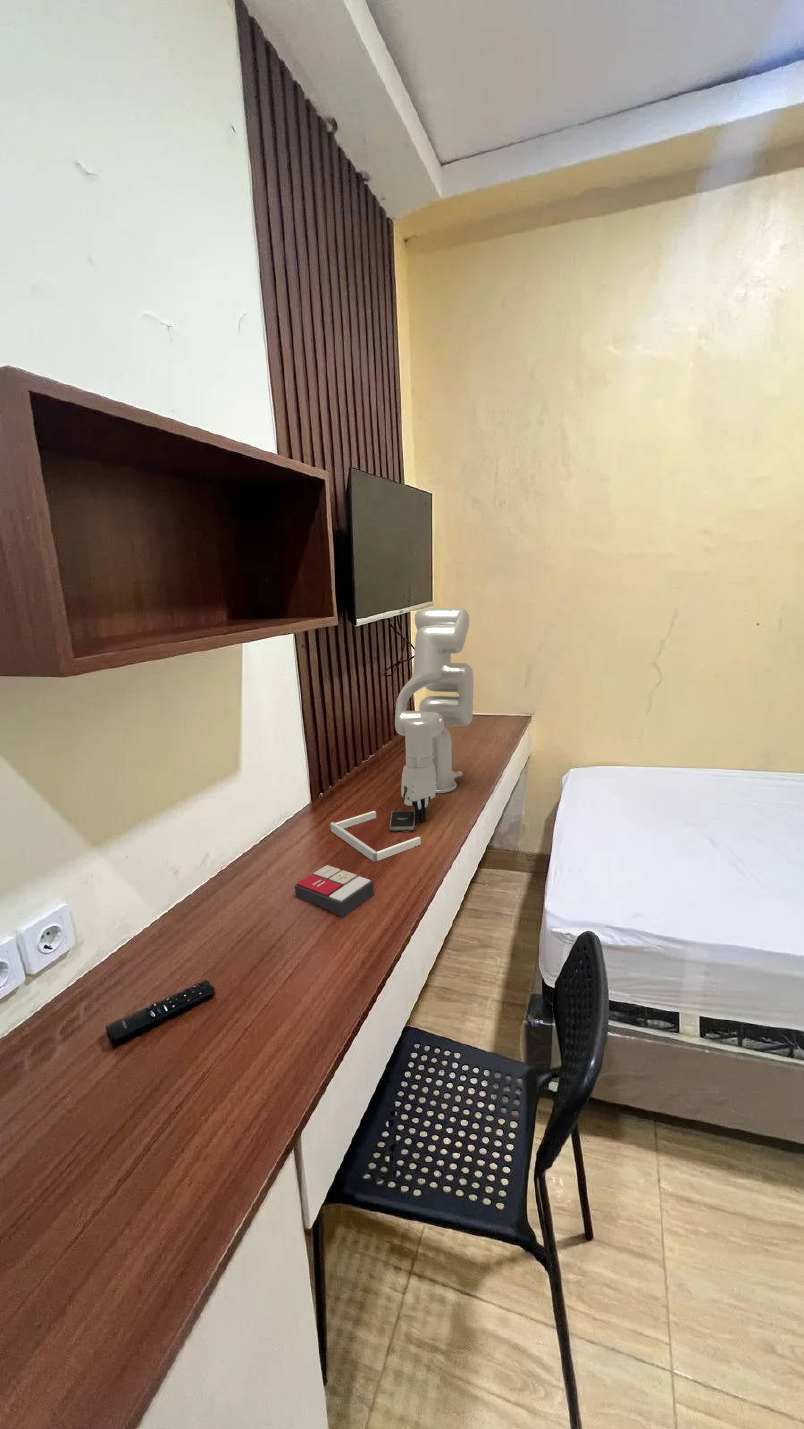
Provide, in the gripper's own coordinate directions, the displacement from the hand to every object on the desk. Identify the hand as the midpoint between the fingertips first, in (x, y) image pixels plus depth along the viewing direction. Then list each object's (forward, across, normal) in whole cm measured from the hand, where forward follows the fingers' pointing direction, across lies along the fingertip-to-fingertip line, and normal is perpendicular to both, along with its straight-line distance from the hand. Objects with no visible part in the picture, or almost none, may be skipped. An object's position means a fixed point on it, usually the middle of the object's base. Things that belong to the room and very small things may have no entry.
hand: (420, 819), depth 166 cm
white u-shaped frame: (+1, +16, 0) cm, 16 cm away
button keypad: (+2, +39, +18) cm, 43 cm away
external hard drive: (+1, +5, -2) cm, 5 cm away
